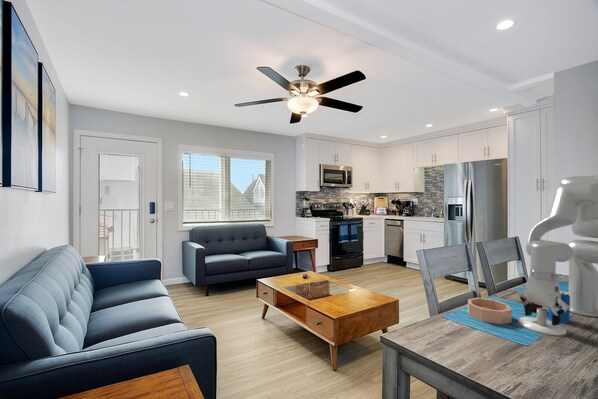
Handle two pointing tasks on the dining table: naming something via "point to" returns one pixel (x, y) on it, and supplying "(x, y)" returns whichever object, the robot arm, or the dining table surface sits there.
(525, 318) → the lid
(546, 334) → the mat
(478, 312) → the octagonal ring frame
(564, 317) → the beverage can
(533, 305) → the mate gourd
